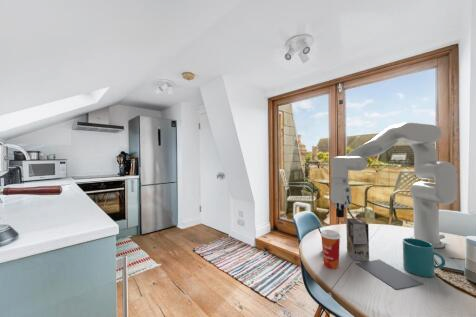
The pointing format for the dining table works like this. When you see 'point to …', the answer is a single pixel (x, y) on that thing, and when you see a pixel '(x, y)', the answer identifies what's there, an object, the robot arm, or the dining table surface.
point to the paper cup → (330, 248)
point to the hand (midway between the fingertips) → (340, 216)
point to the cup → (420, 257)
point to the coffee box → (357, 239)
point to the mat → (389, 274)
